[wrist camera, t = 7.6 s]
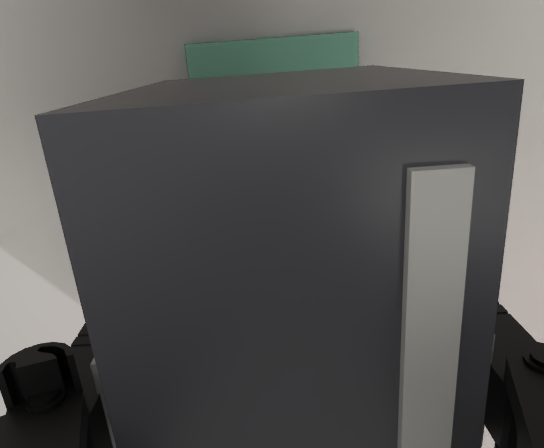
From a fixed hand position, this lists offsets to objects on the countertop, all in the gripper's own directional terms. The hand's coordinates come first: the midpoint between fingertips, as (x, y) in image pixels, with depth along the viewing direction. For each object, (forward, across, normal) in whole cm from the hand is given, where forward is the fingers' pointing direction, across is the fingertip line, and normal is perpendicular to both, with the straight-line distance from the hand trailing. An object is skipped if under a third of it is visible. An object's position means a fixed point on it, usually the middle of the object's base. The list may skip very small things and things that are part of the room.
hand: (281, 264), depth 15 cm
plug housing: (0, 0, 0) cm, 0 cm away
